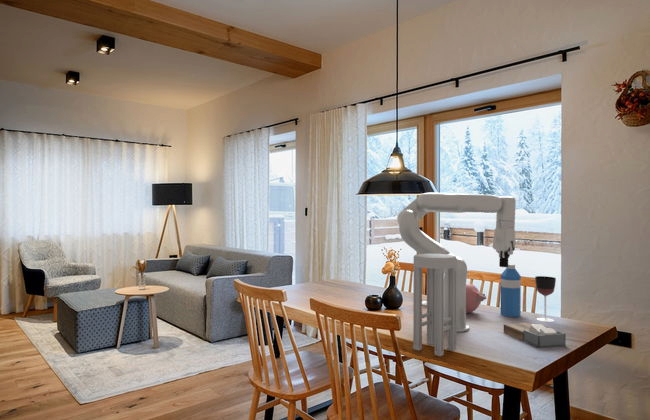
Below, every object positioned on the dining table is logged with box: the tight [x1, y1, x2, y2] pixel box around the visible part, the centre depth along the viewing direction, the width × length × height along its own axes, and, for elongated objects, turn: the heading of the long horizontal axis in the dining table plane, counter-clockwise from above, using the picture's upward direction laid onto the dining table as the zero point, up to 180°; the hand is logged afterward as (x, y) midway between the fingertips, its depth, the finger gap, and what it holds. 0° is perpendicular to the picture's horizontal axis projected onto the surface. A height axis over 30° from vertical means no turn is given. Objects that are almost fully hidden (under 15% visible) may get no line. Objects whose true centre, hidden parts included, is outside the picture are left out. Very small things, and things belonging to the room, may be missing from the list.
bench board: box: [503, 322, 532, 342], centre depth 180 cm, size 12×12×4 cm
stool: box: [412, 253, 457, 357], centre depth 162 cm, size 16×16×35 cm
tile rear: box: [529, 323, 547, 335], centre depth 172 cm, size 5×5×3 cm
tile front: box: [539, 327, 557, 335], centre depth 168 cm, size 5×5×3 cm
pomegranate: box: [466, 281, 487, 314], centre depth 218 cm, size 15×20×15 cm
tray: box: [522, 329, 567, 349], centre depth 170 cm, size 12×8×4 cm
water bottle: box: [500, 263, 522, 318], centre depth 216 cm, size 9×9×25 cm
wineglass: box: [534, 275, 557, 323], centre depth 206 cm, size 8×9×20 cm
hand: (503, 266), depth 189 cm, fingers closed
